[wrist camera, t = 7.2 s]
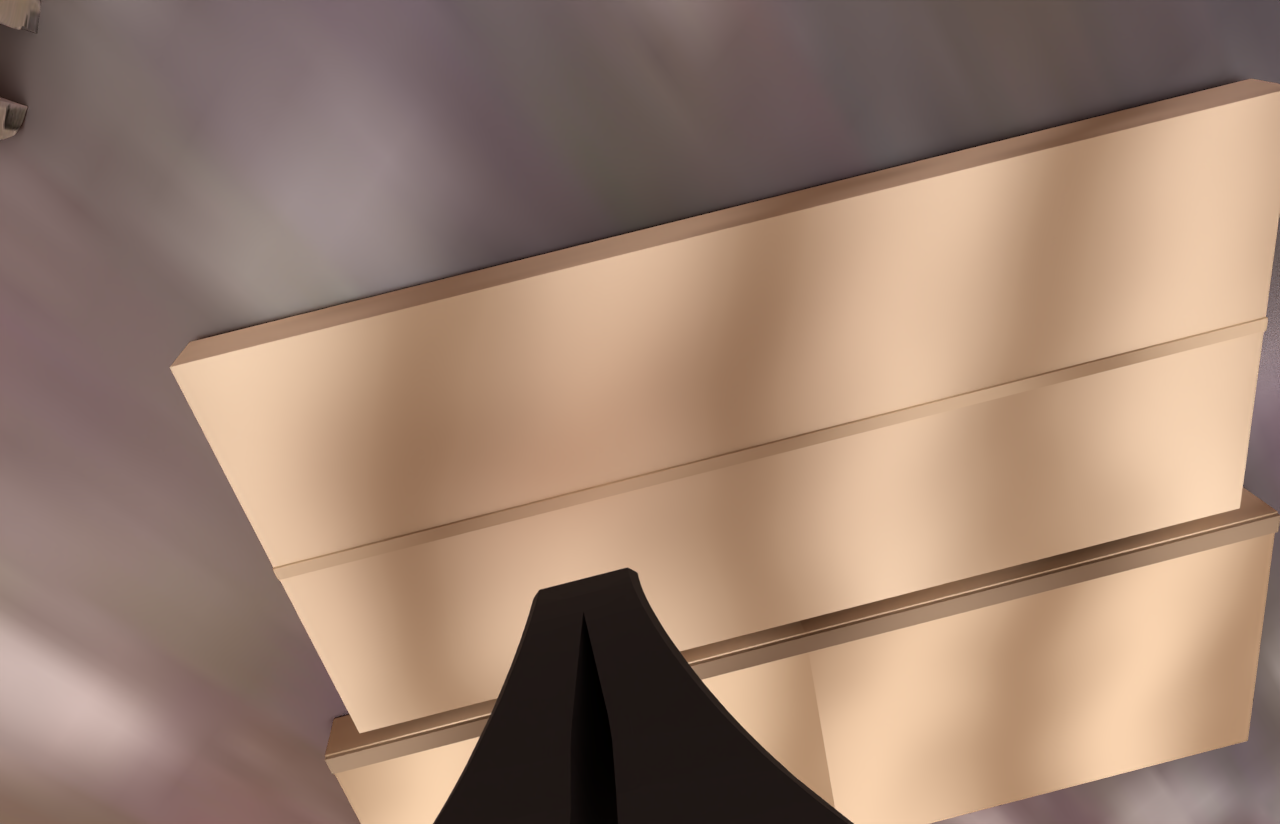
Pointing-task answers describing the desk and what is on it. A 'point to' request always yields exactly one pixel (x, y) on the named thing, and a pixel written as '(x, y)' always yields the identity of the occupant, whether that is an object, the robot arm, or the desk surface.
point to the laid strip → (950, 683)
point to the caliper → (18, 8)
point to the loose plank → (765, 399)
